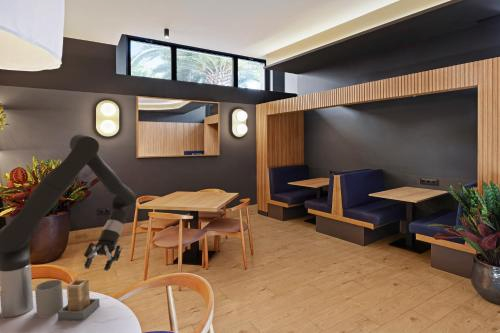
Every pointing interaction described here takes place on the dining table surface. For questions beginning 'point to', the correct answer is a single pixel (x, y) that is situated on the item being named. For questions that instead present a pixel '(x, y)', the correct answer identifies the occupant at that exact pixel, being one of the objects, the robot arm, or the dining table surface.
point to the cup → (49, 297)
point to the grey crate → (78, 312)
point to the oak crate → (78, 295)
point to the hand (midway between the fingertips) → (96, 269)
